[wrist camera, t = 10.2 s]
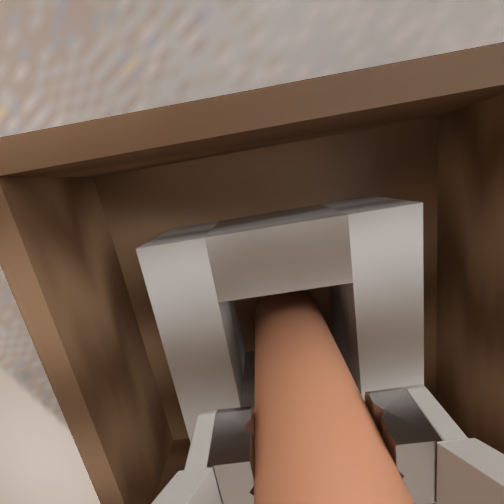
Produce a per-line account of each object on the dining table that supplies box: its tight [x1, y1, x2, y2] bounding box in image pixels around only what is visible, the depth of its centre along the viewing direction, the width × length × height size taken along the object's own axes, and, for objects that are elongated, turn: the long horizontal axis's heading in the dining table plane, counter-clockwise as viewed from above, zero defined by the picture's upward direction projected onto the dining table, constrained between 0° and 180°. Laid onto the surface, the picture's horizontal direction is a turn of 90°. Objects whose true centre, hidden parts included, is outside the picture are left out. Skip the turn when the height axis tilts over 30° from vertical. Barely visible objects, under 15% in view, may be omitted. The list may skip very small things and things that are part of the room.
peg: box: [254, 290, 414, 504], centre depth 8 cm, size 3×3×12 cm
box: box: [0, 42, 504, 504], centre depth 13 cm, size 18×18×6 cm
